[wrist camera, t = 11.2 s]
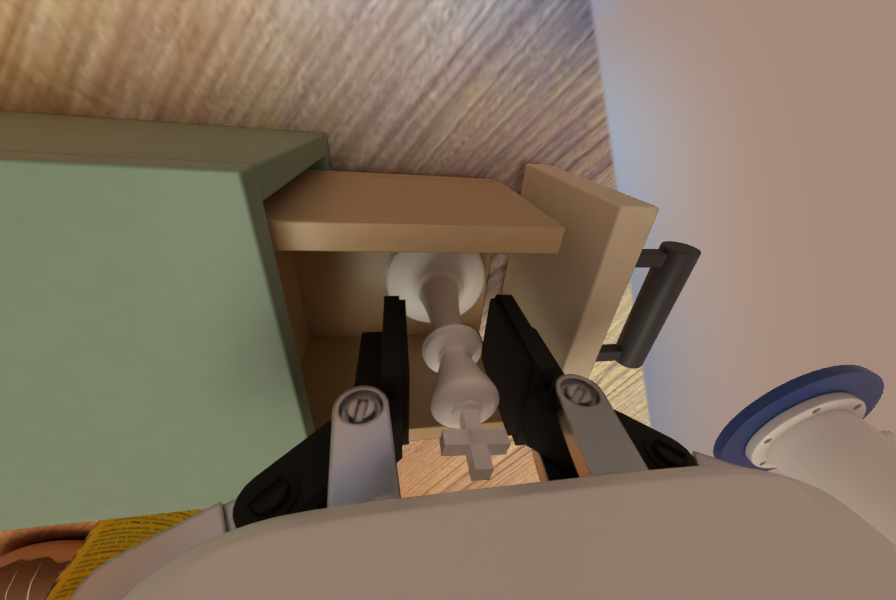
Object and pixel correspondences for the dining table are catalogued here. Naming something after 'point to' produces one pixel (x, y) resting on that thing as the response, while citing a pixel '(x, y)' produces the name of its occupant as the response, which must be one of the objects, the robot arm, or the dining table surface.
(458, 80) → the dining table surface
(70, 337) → the cabinet
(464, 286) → the chess piece
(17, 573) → the donut
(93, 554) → the pill bottle
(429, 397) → the drawer
